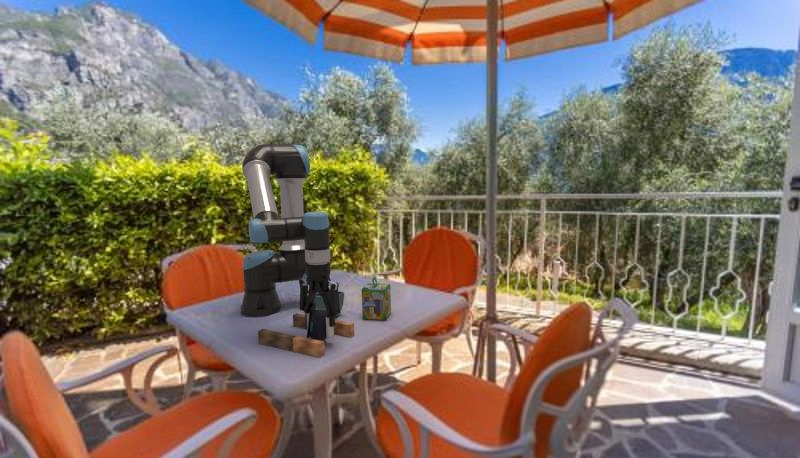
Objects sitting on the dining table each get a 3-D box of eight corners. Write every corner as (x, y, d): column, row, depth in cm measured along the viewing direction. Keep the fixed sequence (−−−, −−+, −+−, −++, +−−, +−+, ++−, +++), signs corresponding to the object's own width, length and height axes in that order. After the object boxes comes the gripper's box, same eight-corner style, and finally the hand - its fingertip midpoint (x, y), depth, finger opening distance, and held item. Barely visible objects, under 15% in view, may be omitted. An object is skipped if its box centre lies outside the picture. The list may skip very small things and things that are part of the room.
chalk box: (386, 321, 141) (385, 281, 139) (361, 319, 143) (360, 280, 141) (391, 312, 150) (391, 274, 148) (368, 311, 152) (367, 274, 150)
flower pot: (345, 314, 148) (345, 291, 147) (332, 322, 140) (331, 298, 139) (326, 311, 152) (325, 289, 151) (312, 319, 144) (311, 295, 143)
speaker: (300, 338, 122) (302, 306, 121) (311, 332, 127) (314, 302, 126) (320, 344, 119) (323, 312, 118) (331, 338, 124) (333, 307, 123)
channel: (258, 343, 123) (257, 331, 122) (297, 324, 139) (296, 313, 138) (320, 357, 112) (320, 344, 112) (354, 334, 128) (354, 323, 128)
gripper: (284, 262, 121) (288, 333, 124) (337, 267, 112) (339, 344, 115) (300, 257, 128) (303, 325, 131) (351, 262, 119) (353, 334, 122)
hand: (320, 334), depth 123 cm, fingers closed on speaker, 7 cm apart
